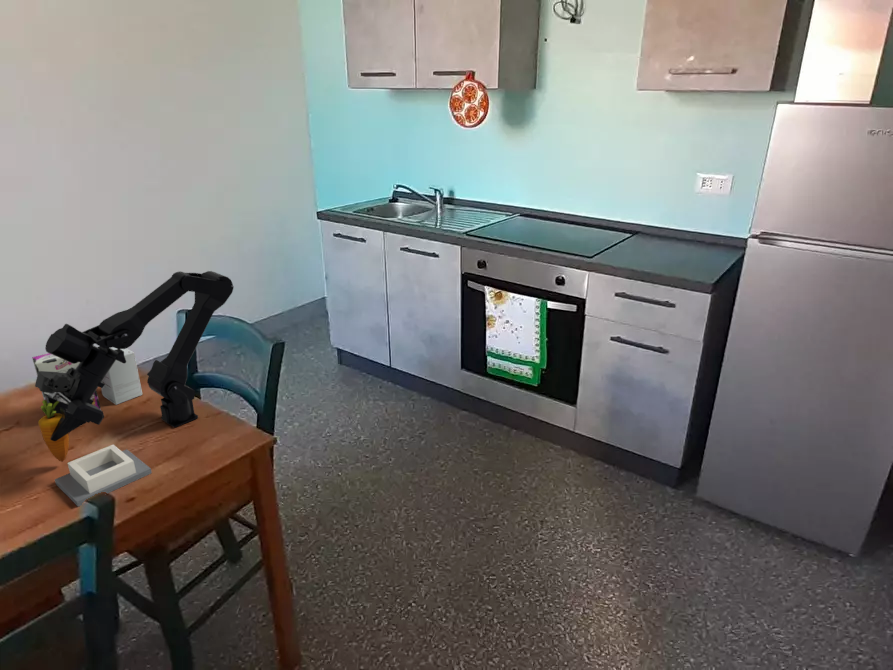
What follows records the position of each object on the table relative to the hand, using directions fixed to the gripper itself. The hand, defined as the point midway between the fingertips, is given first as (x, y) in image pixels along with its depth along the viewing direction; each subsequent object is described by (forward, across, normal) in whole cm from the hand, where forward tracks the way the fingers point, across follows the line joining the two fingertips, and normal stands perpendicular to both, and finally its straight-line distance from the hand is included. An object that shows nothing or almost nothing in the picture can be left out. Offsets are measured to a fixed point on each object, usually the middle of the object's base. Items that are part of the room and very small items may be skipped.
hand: (47, 436), depth 133 cm
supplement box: (-11, -22, +23) cm, 34 cm away
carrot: (+4, 0, +6) cm, 7 cm away
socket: (+2, +11, +10) cm, 15 cm away
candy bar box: (-2, -22, +15) cm, 27 cm away
